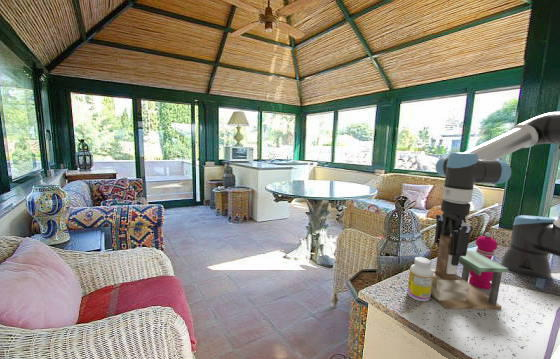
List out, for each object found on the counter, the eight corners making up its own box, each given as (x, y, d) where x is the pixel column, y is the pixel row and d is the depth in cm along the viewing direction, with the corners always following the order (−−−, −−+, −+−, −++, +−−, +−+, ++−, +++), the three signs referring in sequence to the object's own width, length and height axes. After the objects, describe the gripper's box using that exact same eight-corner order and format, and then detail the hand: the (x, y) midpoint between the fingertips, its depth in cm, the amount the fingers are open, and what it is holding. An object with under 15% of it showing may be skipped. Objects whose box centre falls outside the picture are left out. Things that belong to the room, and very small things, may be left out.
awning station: (467, 284, 93) (473, 250, 91) (502, 309, 79) (509, 269, 77) (417, 283, 92) (421, 248, 90) (443, 308, 78) (449, 268, 76)
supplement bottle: (409, 288, 88) (414, 253, 86) (431, 296, 84) (436, 259, 82) (404, 296, 83) (409, 259, 81) (427, 305, 79) (432, 266, 77)
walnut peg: (434, 276, 86) (440, 234, 84) (445, 277, 86) (452, 235, 84) (442, 283, 82) (449, 239, 80) (454, 283, 82) (461, 239, 80)
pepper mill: (497, 291, 89) (506, 237, 86) (473, 288, 90) (482, 234, 87) (484, 281, 96) (493, 230, 93) (463, 278, 97) (471, 228, 94)
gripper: (428, 195, 89) (419, 257, 92) (465, 207, 72) (453, 283, 75) (448, 196, 89) (439, 258, 92) (490, 208, 72) (477, 284, 75)
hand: (445, 269), depth 84 cm, fingers closed on walnut peg, 4 cm apart
